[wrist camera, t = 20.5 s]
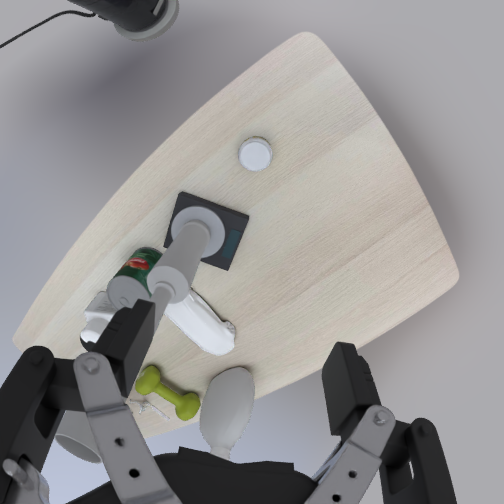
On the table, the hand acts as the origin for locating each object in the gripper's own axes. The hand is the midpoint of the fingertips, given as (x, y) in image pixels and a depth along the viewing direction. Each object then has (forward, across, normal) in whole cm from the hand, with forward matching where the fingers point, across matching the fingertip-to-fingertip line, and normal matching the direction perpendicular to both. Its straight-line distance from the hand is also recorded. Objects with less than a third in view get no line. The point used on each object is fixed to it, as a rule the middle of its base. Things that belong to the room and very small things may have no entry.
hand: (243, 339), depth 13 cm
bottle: (+36, +8, +11) cm, 38 cm away
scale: (+38, +7, +11) cm, 40 cm away
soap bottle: (+38, -5, +46) cm, 60 cm away
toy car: (+38, +5, +30) cm, 49 cm away
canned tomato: (+38, +16, +21) cm, 47 cm away
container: (+38, +23, +33) cm, 56 cm away
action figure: (+38, +15, +69) cm, 80 cm away
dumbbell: (+38, +9, +54) cm, 67 cm away
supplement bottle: (+38, +1, -4) cm, 39 cm away
